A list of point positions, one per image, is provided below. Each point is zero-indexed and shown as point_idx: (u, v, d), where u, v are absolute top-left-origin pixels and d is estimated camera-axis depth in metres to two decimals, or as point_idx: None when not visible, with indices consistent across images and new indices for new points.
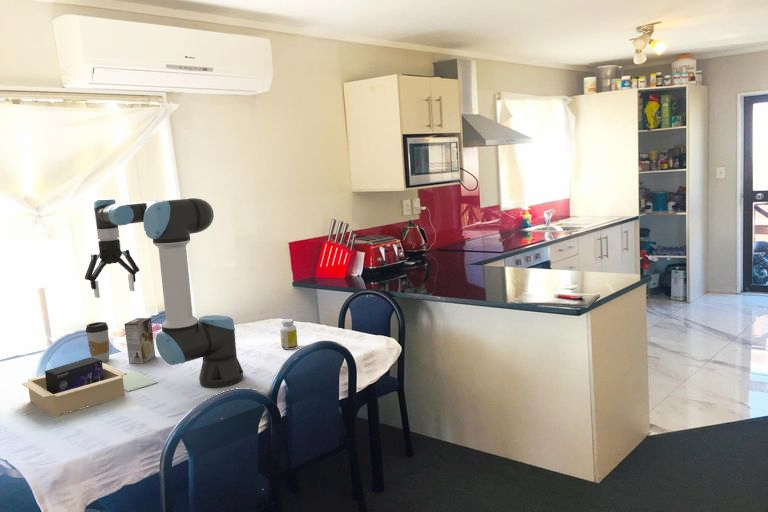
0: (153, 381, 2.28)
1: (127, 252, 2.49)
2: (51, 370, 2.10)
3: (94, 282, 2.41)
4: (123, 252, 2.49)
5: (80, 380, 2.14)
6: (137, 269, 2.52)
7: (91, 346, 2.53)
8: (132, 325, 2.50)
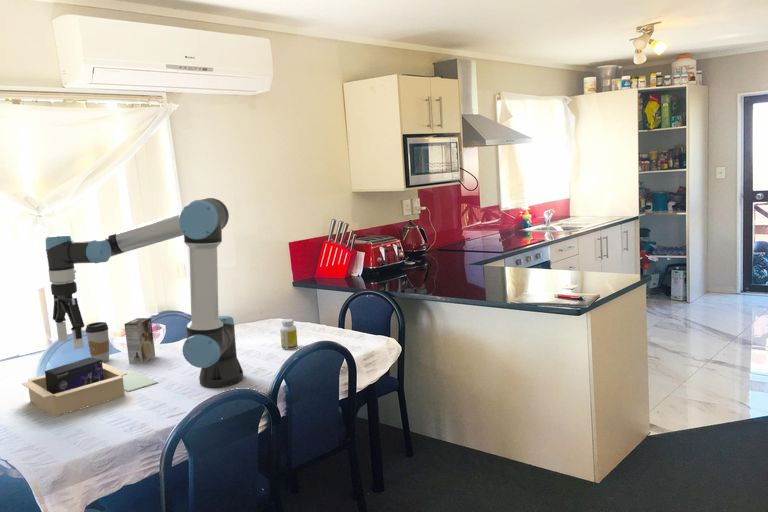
0: (153, 381, 2.28)
1: (68, 302, 2.06)
2: (51, 370, 2.10)
3: None
4: None
5: (80, 380, 2.14)
6: (75, 325, 2.05)
7: (91, 346, 2.53)
8: (132, 325, 2.50)
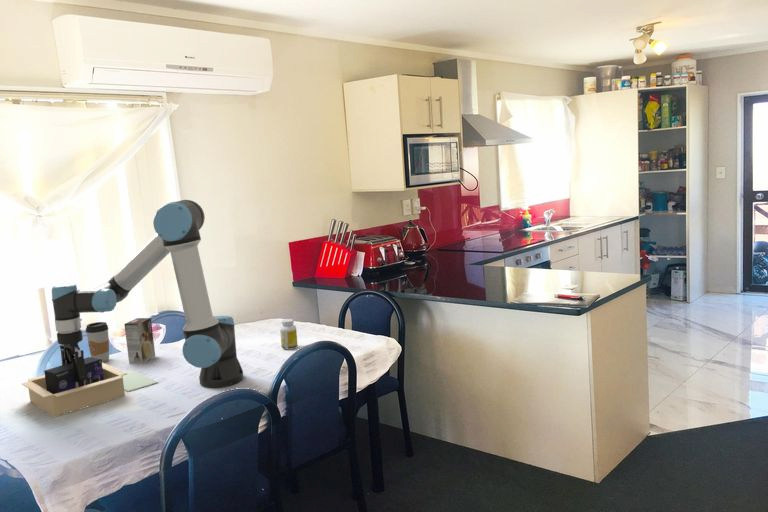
0: (153, 381, 2.28)
1: (74, 354, 2.09)
2: (50, 370, 2.10)
3: None
4: (75, 352, 2.10)
5: None
6: (78, 378, 2.10)
7: (91, 346, 2.53)
8: (132, 325, 2.50)
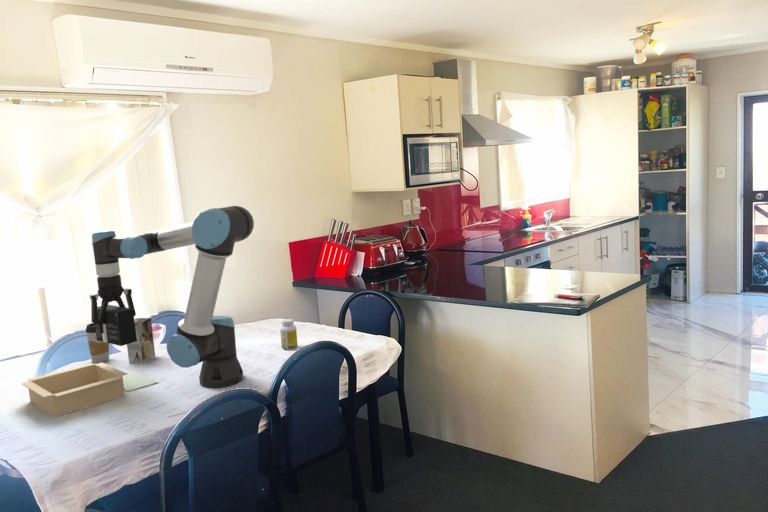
0: (153, 381, 2.28)
1: (129, 291, 2.26)
2: (118, 310, 2.19)
3: (102, 326, 2.22)
4: (125, 291, 2.26)
5: None
6: None
7: (91, 346, 2.53)
8: None
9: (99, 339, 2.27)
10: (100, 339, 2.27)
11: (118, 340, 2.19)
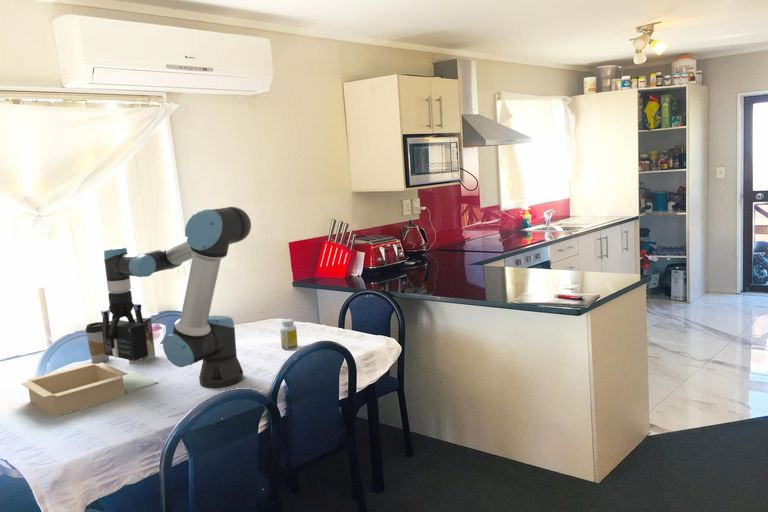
0: (153, 381, 2.28)
1: (139, 307, 2.31)
2: (131, 326, 2.23)
3: (113, 341, 2.25)
4: (134, 306, 2.30)
5: None
6: None
7: (91, 346, 2.53)
8: None
9: (108, 354, 2.31)
10: (109, 354, 2.30)
11: (130, 355, 2.23)
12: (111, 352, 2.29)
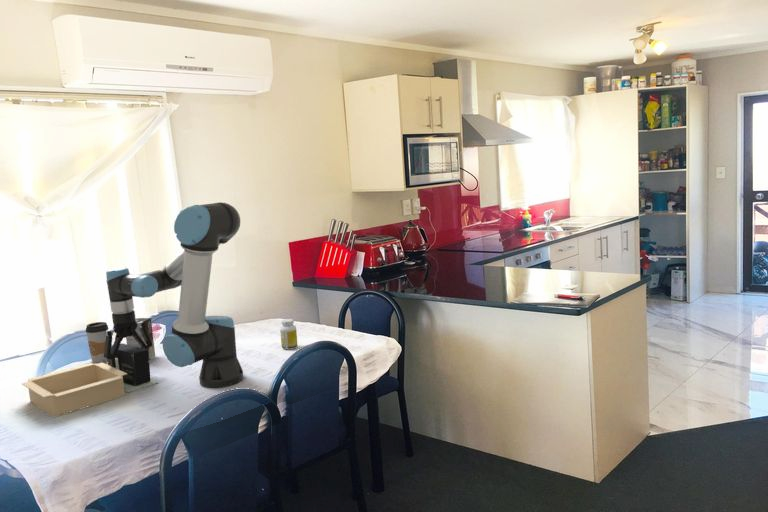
0: (153, 381, 2.28)
1: (143, 325, 2.32)
2: (135, 351, 2.25)
3: (114, 360, 2.26)
4: (138, 325, 2.32)
5: None
6: (150, 344, 2.35)
7: (91, 346, 2.53)
8: None
9: None
10: None
11: (133, 380, 2.25)
12: None
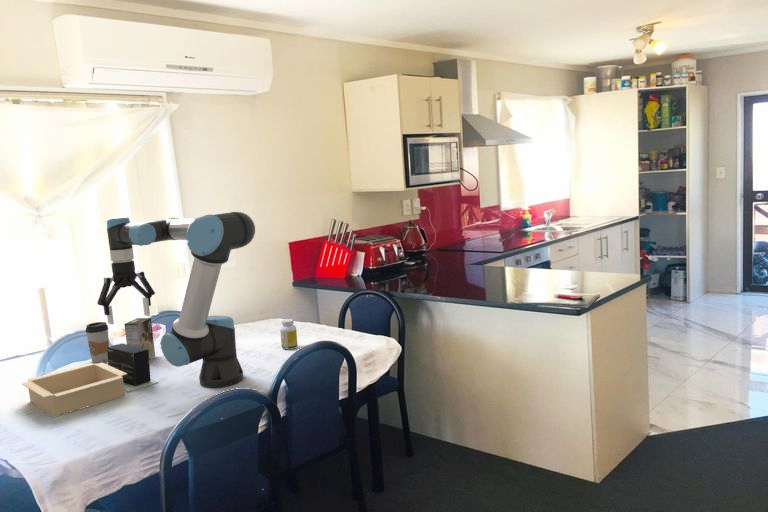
0: (153, 381, 2.28)
1: (142, 274, 2.31)
2: (135, 351, 2.25)
3: (108, 307, 2.23)
4: (138, 275, 2.31)
5: None
6: (152, 292, 2.35)
7: (91, 346, 2.53)
8: (132, 325, 2.50)
9: None
10: None
11: (133, 380, 2.25)
12: None
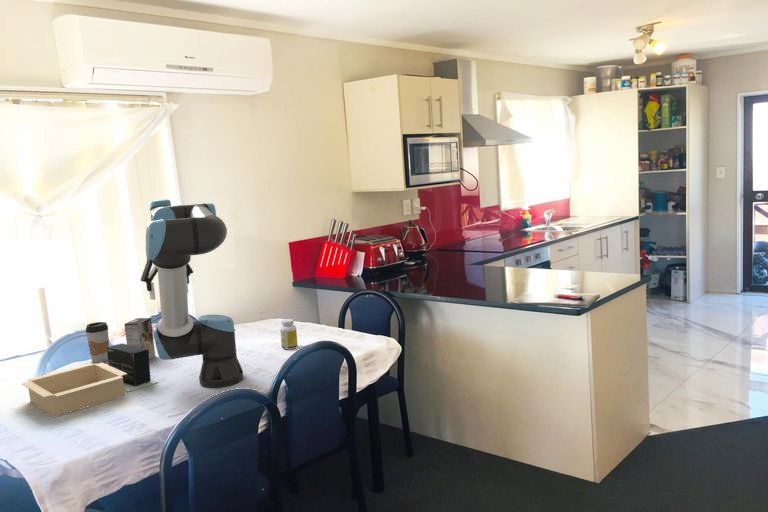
0: (153, 381, 2.28)
1: None
2: (135, 351, 2.25)
3: (150, 284, 2.39)
4: None
5: None
6: (191, 271, 2.50)
7: (91, 346, 2.53)
8: (132, 325, 2.50)
9: None
10: None
11: (133, 380, 2.25)
12: None
